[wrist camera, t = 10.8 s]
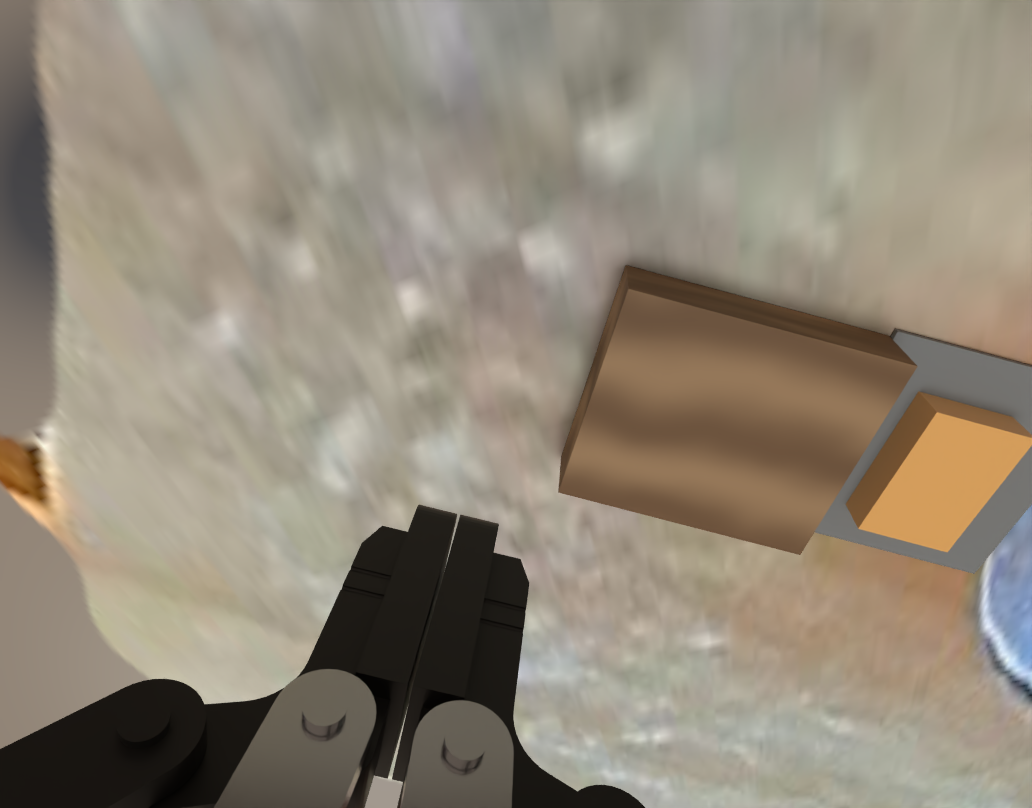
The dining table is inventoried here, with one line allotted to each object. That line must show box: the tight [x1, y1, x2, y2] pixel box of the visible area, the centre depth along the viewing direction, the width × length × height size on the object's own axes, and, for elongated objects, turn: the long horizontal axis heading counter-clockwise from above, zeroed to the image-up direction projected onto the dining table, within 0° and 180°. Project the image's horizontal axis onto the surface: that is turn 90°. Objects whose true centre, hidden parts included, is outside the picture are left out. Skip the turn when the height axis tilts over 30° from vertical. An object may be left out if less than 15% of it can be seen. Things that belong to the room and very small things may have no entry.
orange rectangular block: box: [846, 391, 1032, 552], centre depth 41 cm, size 9×6×2 cm, turn 166°
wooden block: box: [558, 265, 918, 555], centre depth 40 cm, size 14×16×4 cm
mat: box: [815, 329, 1032, 573], centre depth 42 cm, size 15×14×1 cm
